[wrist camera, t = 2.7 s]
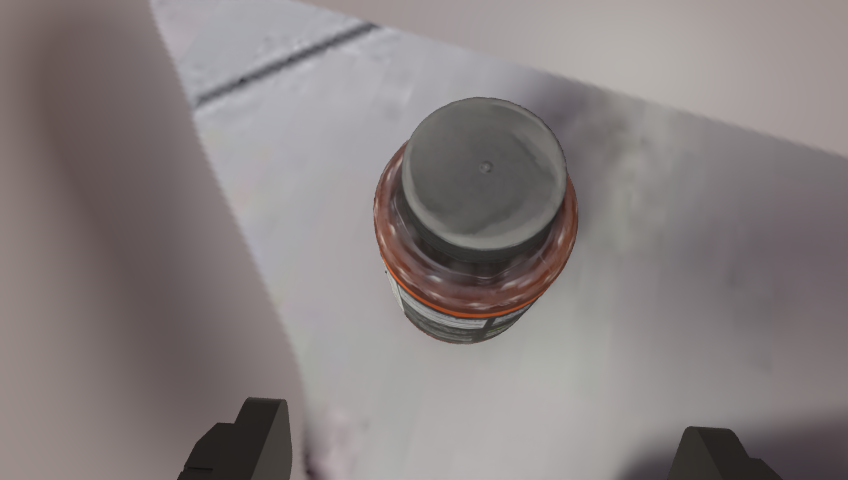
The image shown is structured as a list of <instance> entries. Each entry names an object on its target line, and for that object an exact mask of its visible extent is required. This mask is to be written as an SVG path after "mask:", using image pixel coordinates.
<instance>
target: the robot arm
mask: <svg viewBox="0 0 848 480" xmlns="http://www.w3.org/2000/svg"><path fill="white" fill-rule="evenodd" d="M291 467H292V444H291V434H290V424H289V415H288V406H287V402H286V400H285V399H268V398H252V397H249V398H247V399H246V401H245V402H244V404H243V406H242V408H241V410H240V412H239V414H238V417H237V419H236V421H235V423H234V424H231V423H217V424H216V425H215V426H214V427H212V428H211V429H210V430H209V431H208V432H207V433H206V434H205V435H204V436H203V437H202V438H201V439H200V440H199V441H198V442H197V443H196V444H195V446H194V448H193V450H192V452H191V454H190V456H189V458H188V460H187V462H186V463H185V465H184V470H183V472H181V473H180V475H179V477H178V479H177V480H289V479H290V474H291ZM667 480H783V479H782V478H781V477H780V476H778V475H777V474H776V473H775V472H774V471H773V470H772V469H771V468H770V467H769V466H768V465H767V464H766V463H765V462H763V461H762V460H761V459H755V458H749V456H748V455H747V453H746V451H745V449H744V448H743V446H742V444H741V443H740V441H739V439H738V437H737V436H736V435H735V433H734V432H733V431H731V430H730V429H724V428H708V427H693V426H689V427H687V428H686V429H685V431H684V433H683V436H682V439H681V441H680V444H679V447H678V450H677V453H676V455H675V458H674V461H673V464H672V467H671V469H670V472H669V475H668V478H667Z"/></svg>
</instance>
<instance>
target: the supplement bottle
mask: <svg viewBox="0 0 848 480" xmlns="http://www.w3.org/2000/svg"><path fill="white" fill-rule="evenodd" d="M373 211H374V226H375V233H376V238H377V242H378V245H379V249H380V254H381V257H382V260H383V262H384V265H385V269H386V272H385V273H387V275H388V277H389V280H390V283H391V287H392V289H393V292H394V294H395V297H396V299H397V301H398V303H399V305H400V307H401V309H402V310H403V312H404V313H405V315H406V317H407V318H408V319H409V320H410V321H411V322H412V323H413V324H414V325H415V326H416V327H417V328H418V329H419V330H421V331H423V332H424V333H426V334H427V335H429V336H431V337H433V338H435V339H437V340H441V341H444V342H448V343H455V344H473V343H478V342H482V341H485V340H488V339H491V338H493V337H495V336H497V335H499V334H501V333H502V332H504V331H506V330H507V329H508V328H509V327H510V326H512V325H513V324H514V323H515V322H516V321H517V320H518V319H519V318H520V317H521V316H522V315H523V314H524V313H525V312H526V311H527V310H528V309H529V308H530V307H531V306H532V305H533V303H535V301H536V300H537V299H538V298H539V297H540V296H541V295H542V294H543V293H544V292H545V291H546V290H547V289H548V288H549V286H550V285H551V284H552V283H553V282H554V280H555V279H556V278H557V277H558V275H559V274H560V273H561V271H562V270H563V268H564V266H565V264H566V262H567V260H568V258H569V256H570V254H571V251H572V249H573V246H574V243H575V239H576V234H577V228H578V205H577V199H576V194H575V190H574V187H573V184H572V182H571V179H570V177H569V175H568V173H567V167H566V160H565V156H564V154H563V150H562V148H561V146H560V144H559V141H558V140H557V138H556V137H555V135H554V133H553V132H552V131H551V129H550V128H549V127H548V126H547V125H546V124H545V123H544V122H543V121H542V120H541V119H540V118H539V117H537V116H536V115H535V114H533V113H532V112H530V111H529V110H527V109H525V108H523V107H521V106H520V105H517V104H514V103H512V102H509V101H505V100H501V99H496V98H485V97H474V98H467V99H463V100H459V101H455V102H452V103H450V104H448V105H446V106H443V107H441V108H439V109H438V110H436V111H434V112H433V113H432V114H430V115H429V116H428V117H426V118H425V119H424V120H423V121H422V122H421V123H420V124H419V126H418V127H417V128H416V130H415V131H414V132H413V134H412V136H411V138H410V139H409V140H408V141H406V142H405V143H404V144H403V145H402V146H401V148H400V149H399V150H398V151H397V152H396V153H395V154H394V156H393V157H392V158H391V160H390V161H389V163H388V164H387V166H386V167H385V169H384V172H383V173H382V175H381V177H380V180H379V183H378V185H377V189H376V193H375V198H374V208H373Z"/></svg>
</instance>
